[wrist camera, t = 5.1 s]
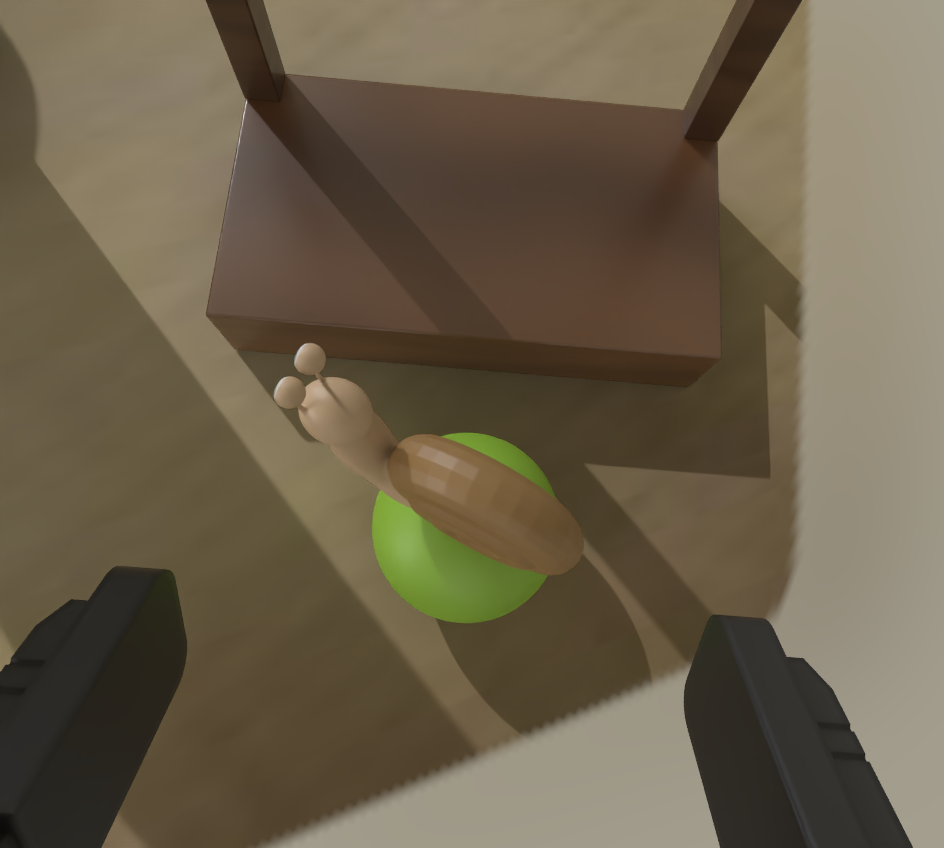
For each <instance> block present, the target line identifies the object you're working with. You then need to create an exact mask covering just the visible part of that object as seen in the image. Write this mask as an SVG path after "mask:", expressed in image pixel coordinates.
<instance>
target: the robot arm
mask: <svg viewBox="0 0 944 848" xmlns="http://www.w3.org/2000/svg"><path fill="white" fill-rule="evenodd" d="M186 656H187V639H186V633H185V628H184V623H183V618H182V612H181V607H180V602H179V596H178V591H177V586H176V581H175V577H174V575H173V573H172V572H171V571H170V570H165V569H152V568H139V567H127V566H116V567H114V568H112V569H111V570H110V571H109V572H108V573H107V574H106V576H105V577H104V579H103V580H102V581H101V583H100V584H99V586H98V587H97V588H96V590H95V591H94V593H93V594H92V596H91V597H90V598H89V600H88V601H86V600H73V599H71V600H70V601H68V602H67V603H66V604H64V605H63V606H62V607H60V608H59V609H58V610H56V611H55V612H54V613H52V614H51V615H50V616H48V617H47V618H45V619H44V620H43V621H41V622H40V623H39V624H37V625H36V626H35V627H34V629H33V630H32V631H31V633H30V634H29V635H28V637H27V638H26V639H25V640H24V642H23V643H22V644H21V646H20V647H19V648H18V650H17V651H16V652H15V654H14V655H13V656H12V658H11V663H10V664H9V665H5V667H4V668H3V669H2V671H1V672H0V848H101V847H102V845H103V843H104V841H105V839H106V837H107V834H108V832H109V830H110V828H111V826H112V824H113V822H114V820H115V818H116V816H117V813H118V811H119V809H120V807H121V805H122V803H123V801H124V799H125V797H126V795H127V792H128V790H129V788H130V786H131V784H132V782H133V780H134V778H135V776H136V774H137V771H138V769H139V767H140V765H141V763H142V761H143V759H144V757H145V755H146V753H147V750H148V748H149V746H150V744H151V742H152V740H153V738H154V736H155V734H156V731H157V729H158V727H159V725H160V723H161V721H162V719H163V717H164V715H165V713H166V710H167V708H168V706H169V704H170V702H171V700H172V698H173V696H174V694H175V692H176V689H177V687H178V685H179V683H180V680H181V678H182V675H183V671H184V667H185V662H186ZM684 712H685V719H686V724H687V728H688V732H689V736H690V739H691V743H692V746H693V750H694V754H695V757H696V761H697V765H698V768H699V772H700V775H701V779H702V783H703V786H704V790H705V794H706V797H707V801H708V804H709V808H710V812H711V815H712V819H713V822H714V826H715V830H716V834H717V837H718V841H719V845H720V848H913V847H912V845H911V843H910V841H909V839H908V837H907V835H906V833H905V831H904V829H903V827H902V825H901V823H900V821H899V819H898V817H897V815H896V813H895V811H894V809H893V807H892V805H891V803H890V801H889V799H888V797H887V796H886V793H885V792H884V790H883V788H882V786H881V784H880V782H879V780H878V778H877V776H876V774H875V772H874V770H873V768H872V766H871V764H870V762H867V761H866V760H865V752H864V750H863V748H862V746H861V744H860V742H859V740H858V739H857V736H856V735H855V733H854V732H851V730H850V723H849V721H848V719H847V717H846V715H845V713H844V711H843V709H842V707H841V705H840V703H839V701H838V699H837V697H836V695H835V693H834V691H833V689H832V688H831V687H830V686H829V685H828V684H827V683H826V682H825V681H824V680H823V679H822V678H821V677H820V676H819V675H818V673H817V672H816V671H815V670H814V669H813V668H812V667H811V666H810V665H809V664H808V663H807V662H806V661H805V660H804V659H803V658H792V657H786V655H785V653H784V650H783V648H782V646H781V644H780V642H779V640H778V637H777V635H776V633H775V631H774V629H773V627H772V625H771V624H770V623H769V622H768V621H767V620H766V619H764V618H752V617H739V616H726V615H712V616H711V617H710V618H709V620H708V622H707V624H706V627H705V629H704V632H703V635H702V638H701V641H700V643H699V646H698V649H697V652H696V655H695V657H694V660H693V663H692V666H691V669H690V671H689V674H688V677H687V680H686V684H685V690H684Z"/></svg>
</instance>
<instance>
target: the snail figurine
mask: <svg viewBox="0 0 944 848" xmlns="http://www.w3.org/2000/svg"><path fill="white" fill-rule="evenodd" d="M325 363H326V356H325V353H324V351H323V349H322V348H321V347H320V346H318V345H316V344H314V343H307V344H304V345H302V346H301V347H300V349H299V350H298V351H297V353H296V355H295V358H294V364H295V367H296V368H297V370H298V371H299V372H301V373H303V374H305V375H314V374H315V375H316V377H317V378H318V380H315V381H313V382H312V383H310V384H309V385H307V386H306V387H305V386H304V384H303V383H302V381H300V380H299V379H298V378H296V377H292V376H290V377H284V378H283V379H281V380H280V381H279V383H278V384H277V385H276V387H275V390H274V399H275V401H276V403H277V404H278V405H279V406H281V407H283V408H287V409H292V408H296V407H297V408H298V410H299V417H300V420H301V422H302V424H303V426H304V428H305V429H306V430H307V431H308V433H309V434H310V435H312V436H313V437H314V438H315V439H317V440H318V441H320V442H322V443H324V444H327V445H329V447H330V449H331V450H332V451H333V453H334V454H335V455H336V456H337V457H338V459H339V460H340V461H341V462H343V463H344V464H345V465H346V466H347V467H348V468H350V469H351V470H352V471H354V472H355V473H357V474H359V475H360V476H362V477H363V478H365V479H366V480H368V481H369V482H371V483H372V484H374V485H375V486H376V487H378V488H379V489H380V491H379V493H378V496H377V499H376V503H375V507H374V512H373V519H372V537H373V544H374V549H375V553H376V557H377V560H378V562H379V565H380V567H381V569H382V572H383V573H384V575H385V577H386V579H387V580H388V582H389V583H390V585H391V586H392V587H393V588H394V590H395V591H396V592H397V593H398V594H399V595H400V596H401V597H402V598H403V599H404V600H405V601H406V602H408V603H409V604H410V605H412V606H413V607H414V608H416V609H418V610H419V611H421V612H423V613H425V614H427V615H429V616H432V617H434V618H437V619H440V620H444V621H449V622H455V623H477V622H484V621H488V620H492V619H495V618H498V617H501V616H503V615H505V614H508V613H510V612H511V611H513V610H515V609H516V608H518V607H519V606H521V605H522V604H523V603H525V602H526V601H527V600H528V599H529V598H531V597H532V596H533V595H534V594H535V592H536V591H537V590H538V589H539V588H540V586H541V585H542V584H543V582H544V581H545V579H546V578H547V576H548V575H560V574H563V573H565V572H567V571H569V570H570V569H572V568H573V567H575V566H576V564H577V563H578V562H579V560H580V559H581V556H582V553H583V548H584V540H583V534H582V531H581V528H580V526H579V524H578V523H577V521H576V520H575V518H574V517H573V515H572V514H571V513H570V512H569V511H568V510H567V509H566V508H565V507H564V506H563V505H562V504H561V503H560V502H559V501H558V500H557V499H556V497H555V494H554V492H553V489H552V487H551V485H550V483H549V481H548V479H547V478H546V476H545V475H544V473H543V472H542V470H541V469H540V468H539V467H538V465H537V464H536V463H535V462H534V461H533V460H532V459H531V458H530V457H529V456H528V455H527V454H525V453H524V452H523V451H521V450H520V449H519V448H517V447H515V446H514V445H512V444H510V443H508V442H506V441H504V440H502V439H499V438H496V437H493V436H490V435H485V434H479V433H453V434H448V435H443V436H437V435H432V434H417V435H413V436H410V437H408V438H406V439H404V440H402V441H401V442H399V441H398V440H397V439H396V438H395V436H394V435H393V433H392V432H391V430H390V429H389V427H388V426H387V425H386V424H385V423H384V421H383V420H382V419H381V418H380V417H379V416H378V415H377V414H376V413H375V412H373V408H372V404H371V402H370V400H369V398H368V396H367V395H366V394H365V392H364V391H363V390H362V389H361V388H360V387H359V386H357V385H356V384H354V383H353V382H351V381H349V380H346V379H343V378H338V377H325V378H324V377H323V376H322V375H321V374H320V373H319V372H320V371H321V370H322V369H323V368H324V366H325Z"/></svg>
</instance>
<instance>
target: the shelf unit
mask: <svg viewBox="0 0 944 848" xmlns="http://www.w3.org/2000/svg"><path fill="white" fill-rule="evenodd" d="M801 1H802V0H737V1H736V3H735V5H734V7H733V9H732V11H731V13H730V15H729V17H728V19H727V21H726V23H725V25H724V27H723V29H722V31H721V33H720V36H719V38H718V40H717V42H716V44H715V46H714V48H713V50H712V52H711V54H710V56H709V58H708V60H707V62H706V64H705V66H704V68H703V71H702V73H701V75H700V77H699V79H698V81H697V83H696V85H695V87H694V89H693V91H692V93H691V95H690V97H689V99H688V101H687V103H686V106H685V108H684V110H679V109H668V108H657V107H646V106H635V105H624V104H613V103H601V102H590V101H579V100H568V99H557V98H546V97H535V96H524V95H513V94H502V93H490V92H479V91H468V90H457V89H446V88H435V87H424V86H413V85H402V84H391V83H379V82H368V81H357V80H346V79H335V78H324V77H313V76H302V75H291V74H285V71H284V68H283V64H282V61H281V58H280V55H279V51H278V48H277V45H276V42H275V38H274V35H273V32H272V28H271V25H270V22H269V19H268V15H267V12H266V9H265V6H264V2H263V0H206V2H207V5H208V7H209V10H210V12H211V15H212V17H213V20H214V22H215V25H216V27H217V30H218V32H219V35H220V37H221V40H222V42H223V45H224V47H225V50H226V52H227V55H228V57H229V60H230V62H231V65H232V67H233V70H234V72H235V75H236V77H237V80H238V82H239V85H240V87H241V90H242V92H243V95H244V97H245V98H246V101H245V107H244V112H243V118H242V123H241V128H240V134H239V139H238V144H237V150H236V155H235V161H234V166H233V171H232V177H231V182H230V187H229V193H228V198H227V203H226V209H225V214H224V220H223V225H222V230H221V236H220V241H219V246H218V252H217V257H216V262H215V268H214V273H213V279H212V284H211V289H210V295H209V300H208V305H207V311H206V316H207V317H208V318H209V319H210V321H211V322H212V323H213V324H214V325H215V327H216V328H217V329H218V330H219V331H220V333H221V334H222V335H223V336H224V337H225V338H226V340H227V341H228V342H229V343H230V344H231V346H232V347H233V348H234V349H237V350H249V351H261V352H273V353H285V354H296V353H297V351H298V350H299V349H300V347H301V346H302V345H304V344H307V343H314V344H316V345H318V346H320V347H321V348H322V349H323V351H324V353H325V356H326V357H333V358H346V359H358V360H370V361H382V362H394V363H406V364H418V365H430V366H442V367H454V368H466V369H478V370H490V371H502V372H514V373H526V374H538V375H550V376H563V377H575V378H587V379H599V380H611V381H623V382H635V383H647V384H659V385H671V386H683V387H689V386H690V385H691V384H693V383H694V382H695V381H696V380H697V379H698V378H699V377H701V376H702V375H703V374H704V373H705V372H706V371H707V370H709V369H710V368H711V367H712V366H713V365H714V364H715V363H717V362H718V361H719V360H720V359H721V357H722V356H721V302H720V249H719V195H718V142H717V141H719V139H720V137H721V136H722V134H723V132H724V131H725V129H726V127H727V126H728V124H729V122H730V121H731V119H732V117H733V116H734V114H735V112H736V111H737V109H738V107H739V105H740V104H741V102H742V100H743V99H744V97H745V95H746V94H747V92H748V90H749V89H750V87H751V85H752V84H753V82H754V80H755V79H756V77H757V75H758V74H759V72H760V70H761V69H762V67H763V65H764V63H765V62H766V60H767V58H768V57H769V55H770V53H771V52H772V50H773V48H774V47H775V45H776V43H777V42H778V40H779V38H780V37H781V35H782V33H783V32H784V30H785V28H786V26H787V25H788V23H789V21H790V20H791V18H792V16H793V15H794V13H795V11H796V10H797V8H798V6H799V5H800V3H801Z"/></svg>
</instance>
